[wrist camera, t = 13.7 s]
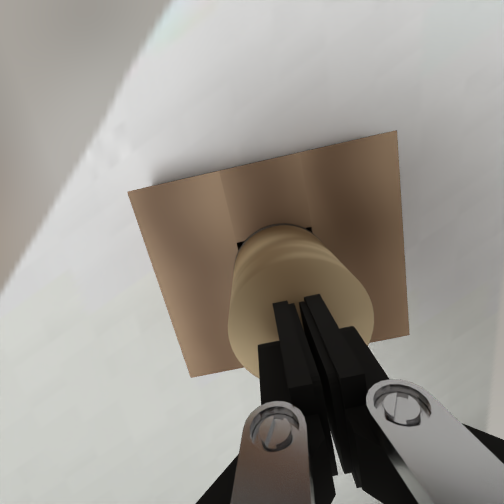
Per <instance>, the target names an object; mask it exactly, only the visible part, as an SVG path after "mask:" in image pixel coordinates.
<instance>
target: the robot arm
mask: <svg viewBox="0 0 504 504" xmlns="http://www.w3.org/2000/svg"><path fill="white" fill-rule="evenodd" d="M272 305H273V310H274V315H275V320H276V326H277V331H278V336H279V341H274V342H269V343H264V344H259V345H258V361H259V377H260V392H261V406H259V407H257V408H256V409H255V410H254V411H253V412H251V414H250V415H249V417H248V418H247V419H246V422H245V425H244V428H243V432H242V438H241V444H240V450H239V454H238V455H237V457H236V458H235V459H234V460H233V461H232V462H231V464H230V465H229V466H228V467H227V468H226V469H225V470H224V472H223V473H222V474H221V475H220V476H219V477H218V478H217V480H216V481H215V482H214V483H213V484H212V485H211V487H210V488H209V489H208V490H207V491H206V492H205V493H204V495H203V496H202V497H201V498H200V499H199V500H198V502H197V503H196V504H331V503H332V501H333V499H334V497H335V495H336V493H335V488H334V482H333V477H332V476H335V475H338V472H337V466H336V460H335V455H334V449H333V443H332V438H331V434H332V437H333V440H334V444H335V447H336V450H337V453H338V456H339V459H340V463H341V466H342V469H343V472H344V474H347V473H352V475H353V478H354V481H355V484H356V487H357V488H359V487H362V490H363V491H365V492H366V493H368V494H370V495H371V496H373V497H374V498H376V499H377V500H378V502H379V504H504V440H503V439H500V438H498V437H495V436H493V435H490V434H487V433H485V432H482V431H480V430H477V429H475V428H472V427H470V426H467V425H465V424H462V423H461V422H460V421H458V420H457V419H456V418H455V417H454V416H453V415H452V414H451V413H450V412H449V411H448V410H447V409H446V408H445V407H444V406H443V405H442V404H441V403H440V402H439V401H438V400H437V399H436V398H435V397H434V396H433V395H432V394H430V393H429V392H428V391H426V390H425V389H424V388H423V387H421V386H419V385H416V384H414V383H412V382H409V381H405V380H398V379H389V378H388V376H387V375H386V373H385V372H384V370H383V369H382V367H381V366H380V364H379V363H378V361H377V360H376V358H375V357H374V355H373V354H372V352H371V351H370V349H369V348H368V346H367V345H366V343H365V342H364V340H363V339H362V337H361V336H360V334H359V333H358V331H357V330H356V328H355V327H354V326H349V327H344V328H339V327H338V325H337V323H336V322H335V320H334V318H333V316H332V315H331V313H330V311H329V309H328V308H327V306H326V304H325V302H324V301H323V299H322V297H321V295H320V294H315V295H310V296H306V297H304V301H302V302H299V307H300V312H301V318H302V323H303V327H302V324H301V321H300V318H299V315H298V312H297V310H296V307H295V304H294V303H292V304H288V301H287V300H286V301H281V302H276V303H272ZM303 328H304V330H303ZM330 431H331V432H330Z"/></svg>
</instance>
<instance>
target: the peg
mask: <svg viewBox="0 0 504 504" xmlns="http://www.w3.org/2000/svg"><path fill="white" fill-rule="evenodd" d="M315 294H320V295H321V297H322V299H323V301H324V302H325V304H326V306H327V308H328V309H329V311H330V313H331V315H332V316H333V318H334V320H335V322H336V323H337V325H338V327H339V328H344V327H349V326H354V327H355V328H356V330H357V331H358V333H359V334H360V336H361V337H362V339H363V340H364V342H365V343H366V345H367V346H368V344H369V342H370V339H371V336H372V332H373V327H374V312H373V306H372V303H371V300H370V297H369V295H368V293H367V291H366V289H365V288H364V287H363V285H362V284H361V283H360V282H359V280H358V279H357V278H356V277H355V276H354V275H353V274H352V273H351V272H350V271H349V270H348V269H347V268H346V267H345V266H344V265H343V264H342V263H341V262H340V261H339V260H338V259H337V258H336V257H335V256H334V255H333V254H332V252H331V251H330V250H329V249H328V248H327V247H326V246H325V245H324V244H323V243H322V242H321V241H320V239H319V238H318V237H317V236H316V235H314V234H313V233H312V232H311V231H309V230H307V229H305V228H303V227H301V226H298V225H294V224H287V223H279V224H272V225H269V226H266V227H263V228H261V229H259V230H257V231H256V232H254V233H253V234H252V235H250V236H249V237H248V238H247V239H246V240H245V241H244V243H243V244H242V245H241V247H240V249H239V250H238V253H237V255H236V258H235V262H234V274H233V283H232V292H231V301H230V310H229V318H228V336H229V341H230V344H231V347H232V350H233V352H234V354H235V356H236V357H237V359H238V360H239V362H240V363H241V364H242V365H243V366H244V367H245V368H246V369H247V370H248V371H249V372H250V373H252V374H253V375H254V376H256V377H258V378H259V379H260V377H259V361H258V345H259V344H264V343H269V342H274V341H279V336H278V331H277V326H276V320H275V315H274V310H273V305H272V303H276V302H281V301H286V300H287V301H288V304H292V303H294V304H295V307H296V310H297V312H298V315H299V318H300V321H301V324H302V327H303V323H302V318H301V312H300V307H299V302H302V301H304V297H306V296H310V295H315ZM303 330H304V328H303Z"/></svg>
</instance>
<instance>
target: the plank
mask: <svg viewBox="0 0 504 504" xmlns="http://www.w3.org/2000/svg"><path fill="white" fill-rule="evenodd" d="M127 193H128V196H129V199H130V202H131V204H132V207H133V210H134V213H135V216H136V219H137V222H138V225H139V228H140V231H141V234H142V237H143V239H144V242H145V245H146V248H147V251H148V254H149V257H150V260H151V263H152V266H153V269H154V272H155V274H156V277H157V280H158V283H159V286H160V289H161V292H162V295H163V298H164V301H165V304H166V307H167V310H168V312H169V315H170V318H171V321H172V324H173V327H174V330H175V333H176V336H177V339H178V342H179V345H180V347H181V350H182V353H183V356H184V359H185V362H186V365H187V368H188V371H189V374H190V377H191V378H192V377H197V376H203V375H208V374H213V373H218V372H223V371H228V370H233V369H238V368H243V367H244V366H243V365H242V364H241V363H240V362H239V360H238V359H237V357H236V356H235V354H234V352H233V350H232V347H231V344H230V341H229V336H228V318H229V310H230V301H231V292H232V283H233V274H234V262H235V258H236V255H237V253H238V250H239V249H240V247H241V245H242V241H245V240H246V239H247V238H248V237H249V236H250V235H252V234H253V233H254V232H256V231H257V230H259V229H261V228H263V227H266V226H269V225H272V224H279V223H287V224H294V225H298V226H301V227H303V228H305V229H307V230H309V231H311V232H312V233H313V234H314V235H316V236H317V237H318V238H319V239H320V241H321V242H322V243H323V244H324V245H325V246H326V247H327V248H328V249H329V250H330V251H331V252H332V254H333V255H334V256H335V257H336V258H337V259H338V260H339V261H340V262H341V263H342V264H343V265H344V266H345V267H346V268H347V269H348V270H349V271H350V272H351V273H352V274H353V275H354V276H355V277H356V278H357V279H358V280H359V282H360V283H361V284H362V285H363V287H364V288H365V289H366V291H367V293H368V295H369V297H370V300H371V303H372V306H373V312H374V327H373V332H372V336H371V339H370V342H369V343H371V342H376V341H381V340H386V339H391V338H396V337H401V336H407V335H409V320H408V304H407V287H406V271H405V255H404V238H403V222H402V206H401V189H400V173H399V156H398V140H397V130H396V131H392V132H387V133H383V134H378V135H374V136H369V137H365V138H360V139H356V140H351V141H347V142H343V143H338V144H334V145H330V146H325V147H321V148H316V149H312V150H308V151H303V152H299V153H294V154H290V155H286V156H281V157H277V158H273V159H268V160H264V161H259V162H255V163H251V164H246V165H242V166H237V167H233V168H229V169H224V170H220V171H216V172H211V173H207V174H202V175H198V176H194V177H189V178H185V179H180V180H176V181H172V182H167V183H163V184H159V185H154V186H150V187H146V188H141V189H137V190H133V191H129V192H127Z"/></svg>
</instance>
